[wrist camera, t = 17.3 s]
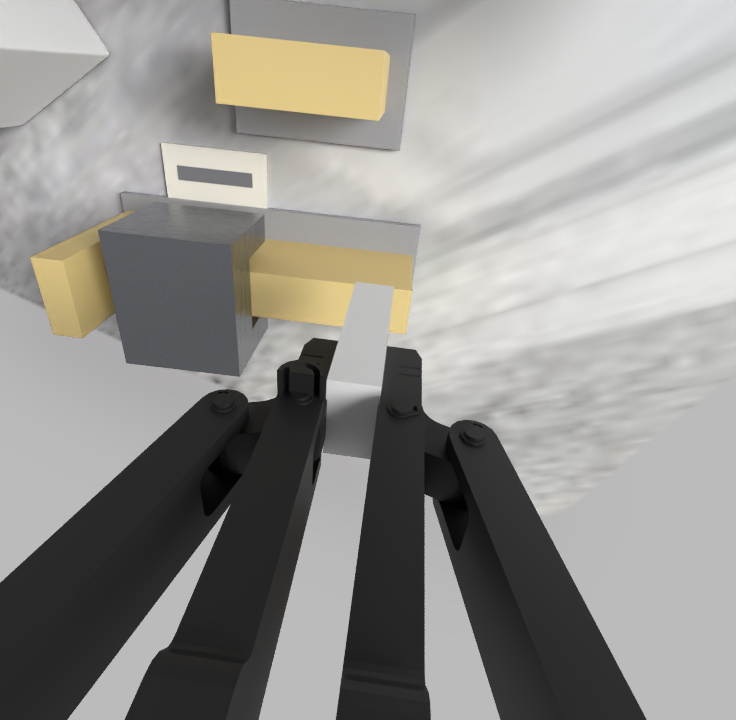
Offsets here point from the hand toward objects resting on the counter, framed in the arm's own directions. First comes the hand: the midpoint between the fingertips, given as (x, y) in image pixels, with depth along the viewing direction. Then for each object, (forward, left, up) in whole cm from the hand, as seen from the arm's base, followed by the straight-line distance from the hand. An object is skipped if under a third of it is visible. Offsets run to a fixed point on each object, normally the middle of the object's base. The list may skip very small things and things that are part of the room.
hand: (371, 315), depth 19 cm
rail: (+2, -7, -11) cm, 14 cm away
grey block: (+2, -10, -8) cm, 13 cm away
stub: (-8, -4, -11) cm, 14 cm away
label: (-2, -10, -11) cm, 15 cm away
